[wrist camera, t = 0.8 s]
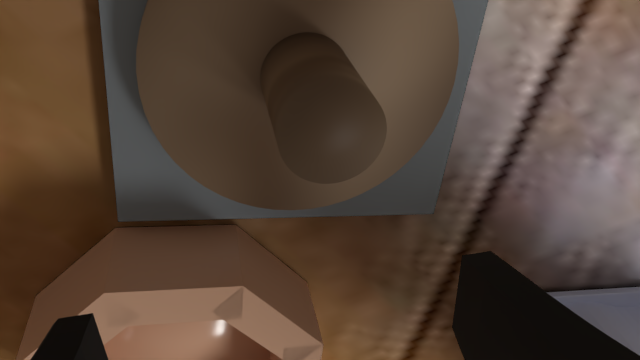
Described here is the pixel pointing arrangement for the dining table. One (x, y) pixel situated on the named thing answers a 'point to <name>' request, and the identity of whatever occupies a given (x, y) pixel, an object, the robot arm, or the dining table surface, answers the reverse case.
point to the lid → (295, 92)
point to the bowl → (183, 298)
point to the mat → (201, 203)
